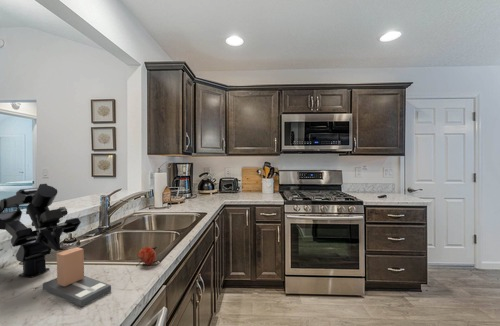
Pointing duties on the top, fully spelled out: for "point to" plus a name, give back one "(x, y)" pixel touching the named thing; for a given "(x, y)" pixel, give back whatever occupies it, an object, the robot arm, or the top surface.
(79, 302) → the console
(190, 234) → the top surface
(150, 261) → the pomegranate
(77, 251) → the fader knob
